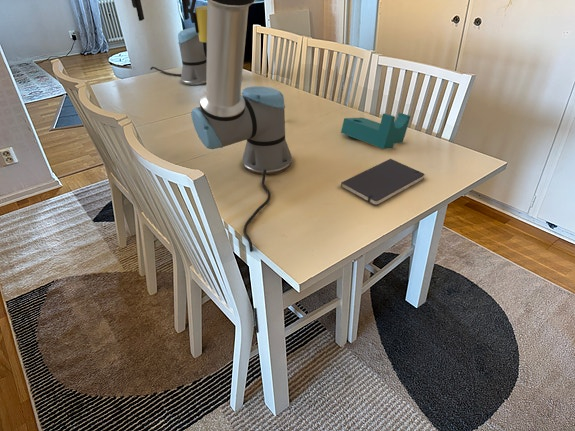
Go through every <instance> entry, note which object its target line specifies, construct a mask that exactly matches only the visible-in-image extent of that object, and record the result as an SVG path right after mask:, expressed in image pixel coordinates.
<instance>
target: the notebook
mask: <svg viewBox="0 0 575 431" xmlns="http://www.w3.org/2000/svg"><path fill="white" fill-rule="evenodd" d="M424 176H425V173H424V172H422V171H420V170H417V169H415V168H413V167H410V166H408V165H406V164H404V163H401V162H399V161H397V160H395V159H393V158H389V159H387V160H385V161H382V162H380V163H379V164H377V165H375V166H372V167H370V168H368V169H366V170H364V171H362V172H360V173H358V174H356V175H353V176H351V177H350V178H348V179H345V180H344V181H341V182H340V183H341V184H340V187H341V188H342V189H344V190H345V191H347V192H349V193H350V194H353V195H355V196H356V197H358V198H360V199H362V200H363V201H365V202H367V203H369V204H371V205H373V206H379V205H381V204H382V203H384V202H386V201H388V200H390V199H391V198H393V197H395V196H397V195H398V194H400V193H402V192H404V191H406V190H407V189H409V188H411V187H413V186H415V185H416V184H418V183H420V182H422V181H423V180H424Z"/></svg>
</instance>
